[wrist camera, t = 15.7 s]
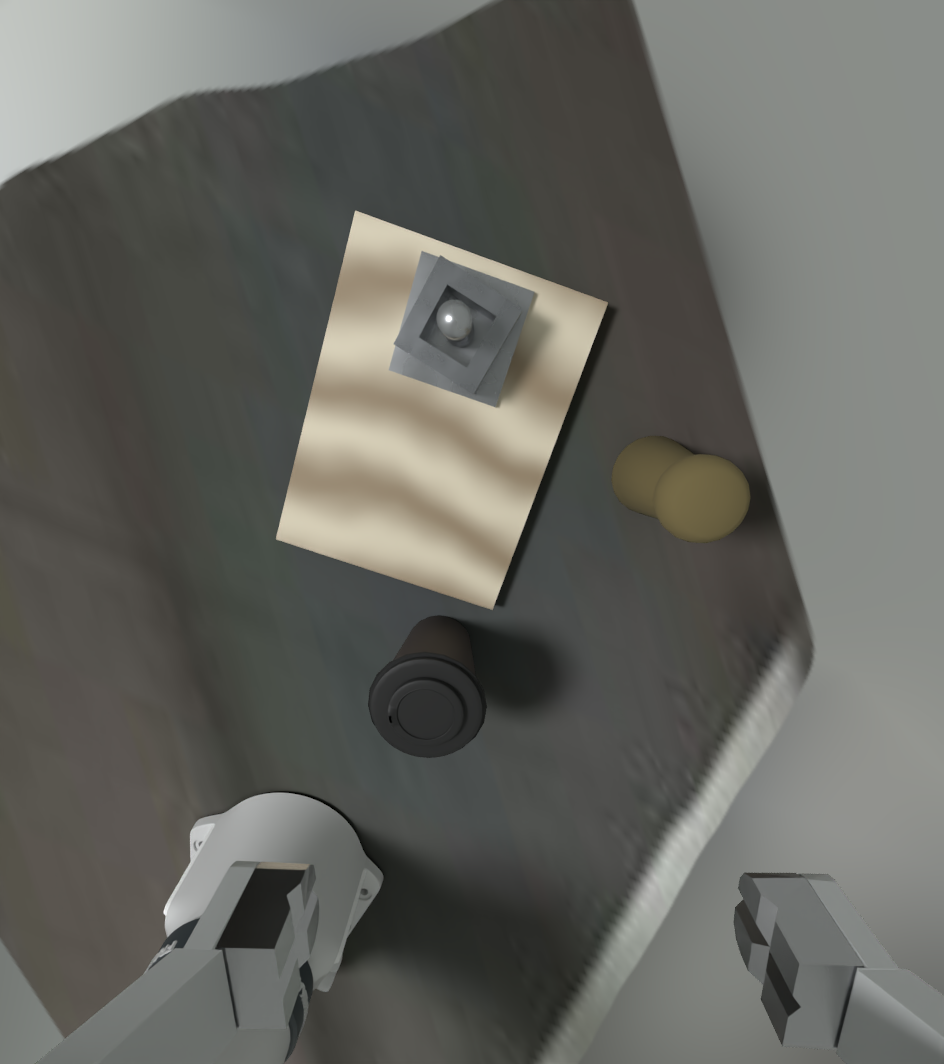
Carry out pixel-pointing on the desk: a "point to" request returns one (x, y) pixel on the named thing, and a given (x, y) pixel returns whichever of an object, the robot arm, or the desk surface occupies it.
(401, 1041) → the desk surface
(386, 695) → the coffee cup
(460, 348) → the post
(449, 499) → the board
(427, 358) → the link
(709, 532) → the cork
